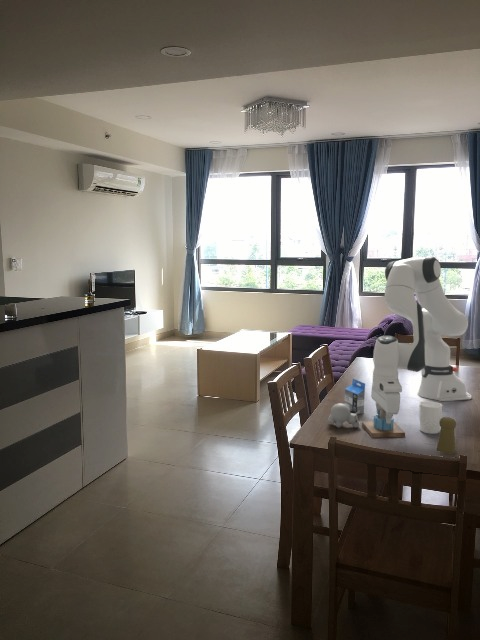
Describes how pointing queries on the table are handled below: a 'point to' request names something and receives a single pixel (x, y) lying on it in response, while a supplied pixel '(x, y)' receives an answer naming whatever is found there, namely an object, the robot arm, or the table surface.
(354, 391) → the blue printed box
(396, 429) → the post block
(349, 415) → the round bodied animal figurine
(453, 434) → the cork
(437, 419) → the white cup
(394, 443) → the table surface
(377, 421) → the ring
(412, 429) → the table surface
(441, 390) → the robot arm
